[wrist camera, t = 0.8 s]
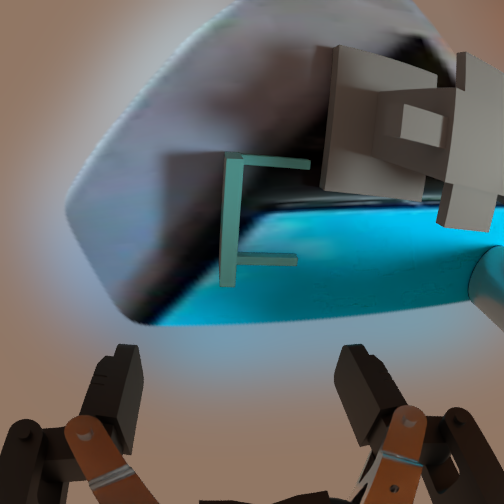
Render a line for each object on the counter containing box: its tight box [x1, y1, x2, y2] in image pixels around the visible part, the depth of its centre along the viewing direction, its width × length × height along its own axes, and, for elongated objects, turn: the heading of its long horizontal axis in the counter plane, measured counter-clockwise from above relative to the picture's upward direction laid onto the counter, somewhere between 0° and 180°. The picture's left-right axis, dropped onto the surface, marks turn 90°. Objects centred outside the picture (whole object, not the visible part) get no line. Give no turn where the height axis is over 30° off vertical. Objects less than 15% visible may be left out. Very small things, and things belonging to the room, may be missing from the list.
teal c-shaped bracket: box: [219, 152, 311, 287], centre depth 26 cm, size 7×10×5 cm
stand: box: [319, 45, 504, 232], centre depth 21 cm, size 10×13×12 cm
